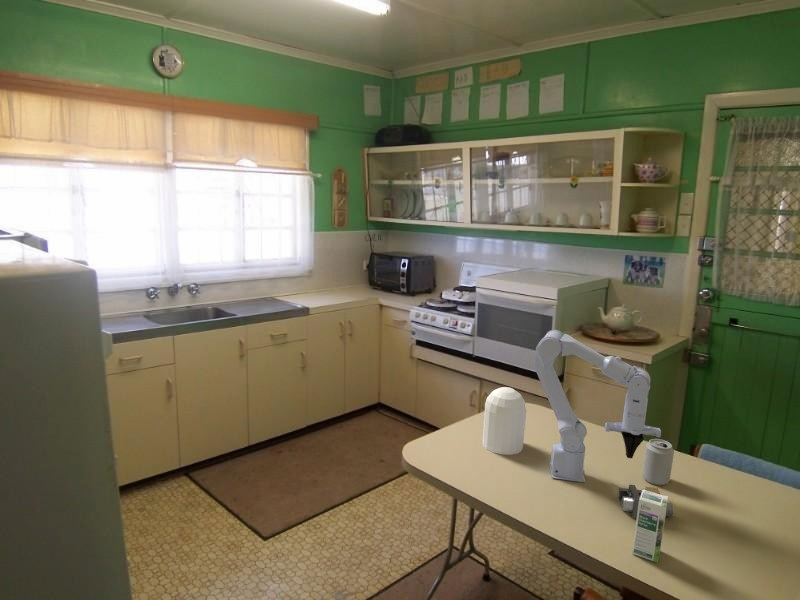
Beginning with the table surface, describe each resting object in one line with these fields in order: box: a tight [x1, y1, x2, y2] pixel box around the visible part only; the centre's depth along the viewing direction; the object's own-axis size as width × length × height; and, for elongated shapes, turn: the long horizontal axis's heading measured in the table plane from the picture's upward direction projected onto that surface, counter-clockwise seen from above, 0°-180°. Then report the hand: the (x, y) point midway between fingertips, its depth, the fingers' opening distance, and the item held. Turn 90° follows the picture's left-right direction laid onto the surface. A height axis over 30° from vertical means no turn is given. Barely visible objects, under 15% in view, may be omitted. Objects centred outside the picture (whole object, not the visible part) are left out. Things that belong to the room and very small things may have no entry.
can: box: [641, 438, 675, 486], centre depth 160 cm, size 8×8×12 cm
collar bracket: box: [617, 484, 661, 520], centre depth 145 cm, size 10×10×6 cm
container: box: [482, 386, 527, 456], centre depth 178 cm, size 14×13×20 cm
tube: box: [621, 496, 674, 518], centre depth 144 cm, size 12×4×4 cm, turn 79°
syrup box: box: [631, 489, 669, 563], centre depth 127 cm, size 6×6×14 cm
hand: (629, 456), depth 155 cm, fingers closed
